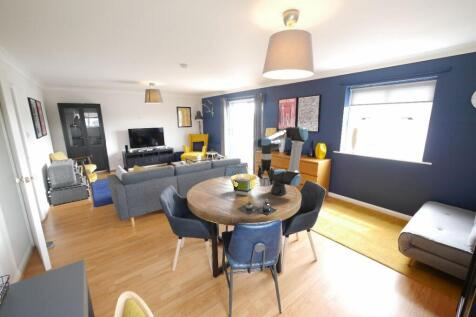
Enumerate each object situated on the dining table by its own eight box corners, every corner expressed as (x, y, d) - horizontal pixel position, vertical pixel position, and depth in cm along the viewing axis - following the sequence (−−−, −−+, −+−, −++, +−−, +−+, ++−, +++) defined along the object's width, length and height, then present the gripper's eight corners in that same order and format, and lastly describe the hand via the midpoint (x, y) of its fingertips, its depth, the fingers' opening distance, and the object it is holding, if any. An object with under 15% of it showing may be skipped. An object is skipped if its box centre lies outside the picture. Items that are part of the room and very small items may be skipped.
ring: (265, 182, 160) (265, 176, 159) (273, 184, 154) (273, 178, 153) (258, 184, 155) (258, 178, 154) (266, 187, 149) (266, 180, 148)
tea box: (251, 192, 197) (251, 178, 194) (247, 196, 188) (247, 181, 185) (237, 190, 203) (237, 176, 200) (233, 193, 194) (233, 179, 191)
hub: (249, 203, 171) (249, 193, 169) (261, 209, 161) (261, 197, 159) (237, 208, 162) (237, 197, 160) (249, 214, 152) (249, 203, 150)
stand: (265, 205, 167) (265, 194, 165) (277, 210, 158) (277, 199, 156) (255, 210, 159) (255, 198, 157) (267, 215, 150) (267, 203, 148)
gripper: (252, 157, 155) (252, 185, 160) (274, 161, 140) (273, 192, 145) (259, 156, 160) (258, 183, 165) (280, 160, 145) (279, 189, 150)
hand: (265, 187), depth 155 cm, fingers closed on ring, 8 cm apart
